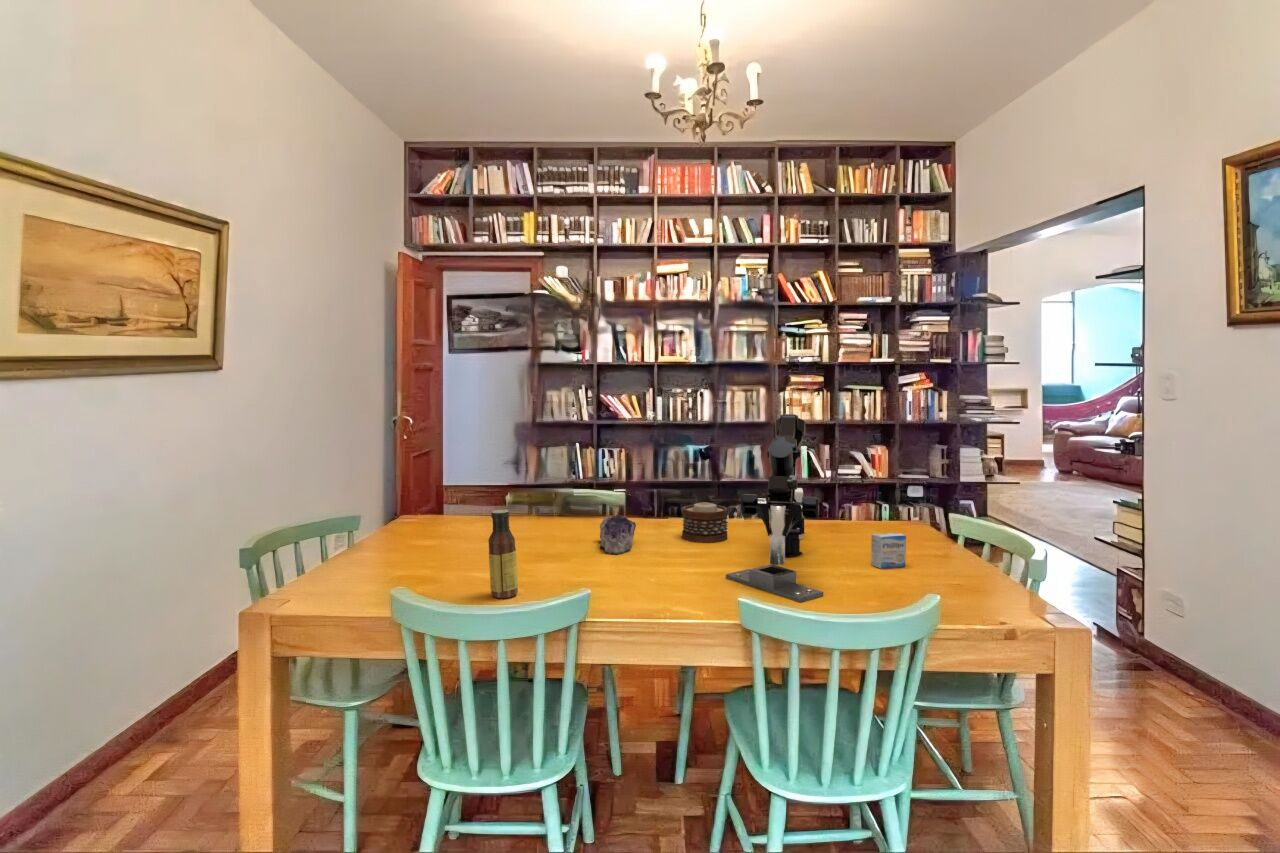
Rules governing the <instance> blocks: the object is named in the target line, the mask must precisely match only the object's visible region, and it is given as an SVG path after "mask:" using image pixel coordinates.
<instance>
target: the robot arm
mask: <svg viewBox="0 0 1280 853" xmlns="http://www.w3.org/2000/svg"><path fill="white" fill-rule="evenodd" d="M774 433H775V436H776V437H775V438H773V439H772V442H771V443H770V445H769V446H768V448H767V451H766V452H767V453H766V454H767V455H766V456H767V458H768V460H769V466H770V468H771V469H770V470H771V471H770V476H768V483H767V484H768V486H767V493H766V495H767V496H766V497H767V498H768V499H767V498H762V497H761V498H760V497H758V494H756V493H754V494H753V493H743V494H742V495H741V496H740V499H739V500H740V501H739V502H740V507H741V508H740V509H741V514H742V515H745V516H756V517H757V518H758V519H761V520H762V523H763V524H764V527H765V529H766V533H767V536H768V537H770V512H769V511H770V505H773V504H781V505H785V506H786V520H785V558H790V557H794V556H799V555H803V552H802V551H801V550H800V549H801V546H800V545H801V543H800V542H801V539H799V535H801V534H802V535H803V534H804V535H805V519H811V520H812V519H813V520H814V519H816V520H817V519H819V514H820V512H819V511H820V510H819V509H820V507H819V506H820V504H819V500H820V499H819V498H817V496H803V497H802V502H796V500H795V490H797V488H798V478H799V477H798V475H797V461H799V460H800V459H801V458H800V457H801V456H802V450H801V447H802V445H803V439H804V438H805V437H806V421H805V420H804V419H801V418H800V417H799V415H798V414H790V413H787V414H780V415H779V418H778V419H776V420H775V429H774ZM802 511H803V512H802ZM802 515H803V516H802ZM797 528H799V529H797Z"/></svg>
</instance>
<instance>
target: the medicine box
mask: <svg viewBox="0 0 1280 853" xmlns="http://www.w3.org/2000/svg"><path fill="white" fill-rule="evenodd" d="M870 547H871V548H870V549H871V553H870V564H871V566H873V567H875V568H877V567H878V568H877V569H880V570H886V569H885V568H887V569H897V568H905V567H906V558H907V557H906V556H907V555H906V554H907V536H906V534H903V533H900V532H888V533H887V532H885V533H871V546H870Z"/></svg>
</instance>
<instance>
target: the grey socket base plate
mask: <svg viewBox="0 0 1280 853" xmlns="http://www.w3.org/2000/svg"><path fill="white" fill-rule="evenodd" d="M725 579H726V580H730V581H733V582H737V583H739V584H742V585H744V586H749V587H751V588H755V589H758V590H759V591H760V590H761V591H764V592H766V591H767V592H766V593H769V594H773V595H776V596H779V597H783V598H785V599H788V600H791V601H794V602H798V603H804V602H808V601H810V600H814V599H818V598H821V597H824V591H821V590H819V589H815V588H812V587H808V586H806V585H802V584H800V583H797V570H794V569H793V570H792V569H789V568H786V567H783V566H780V565H773V564H770V563H769V564H766V565H762V566H759V567H754V568H750V569H749V568H746V569H743V570H738V571H734V572H730V573H729V572H728V573H725Z"/></svg>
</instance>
